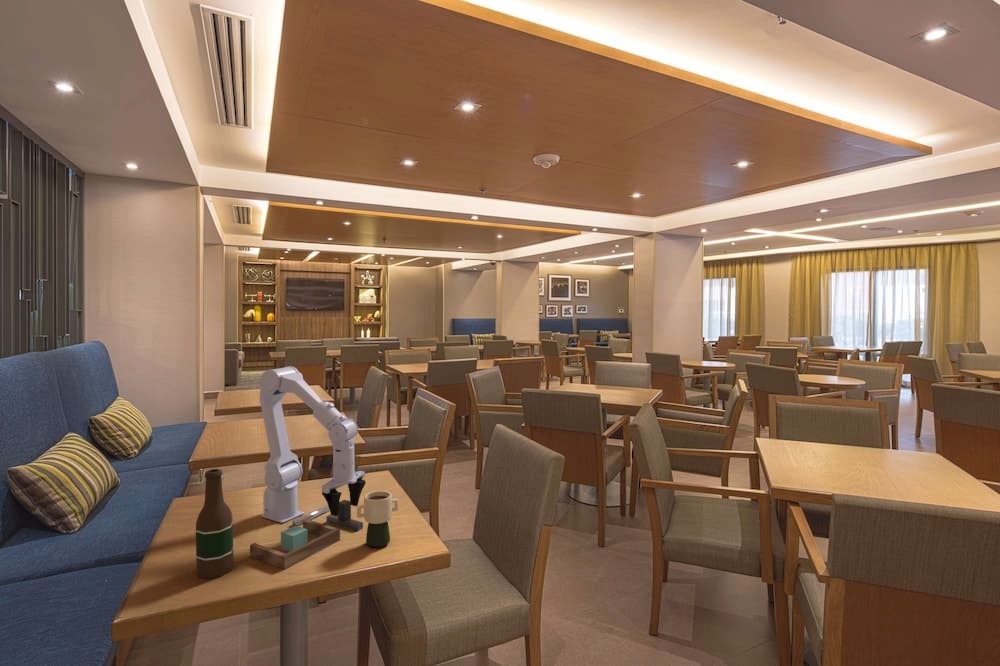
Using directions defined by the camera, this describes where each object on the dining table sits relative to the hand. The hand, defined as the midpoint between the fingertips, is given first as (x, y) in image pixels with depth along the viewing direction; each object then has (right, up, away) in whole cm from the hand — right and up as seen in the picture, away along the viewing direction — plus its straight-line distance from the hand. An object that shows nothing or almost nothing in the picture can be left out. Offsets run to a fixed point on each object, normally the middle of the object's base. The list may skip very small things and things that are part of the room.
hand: (344, 510), depth 145 cm
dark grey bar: (0, -5, 0) cm, 5 cm away
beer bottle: (-23, -6, -25) cm, 34 cm away
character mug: (+12, -5, -11) cm, 17 cm away
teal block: (-9, -5, -13) cm, 17 cm away
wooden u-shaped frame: (-8, -5, -13) cm, 17 cm away
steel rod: (-11, -4, +5) cm, 13 cm away
